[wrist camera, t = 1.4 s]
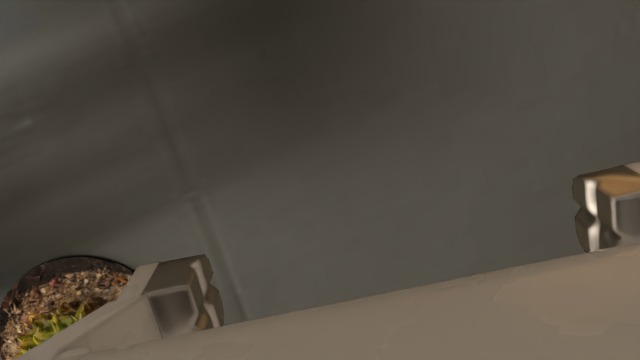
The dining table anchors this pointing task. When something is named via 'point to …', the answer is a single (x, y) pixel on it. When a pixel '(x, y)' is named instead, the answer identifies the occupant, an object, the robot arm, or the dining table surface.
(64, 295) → the cactus
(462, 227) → the dining table surface
